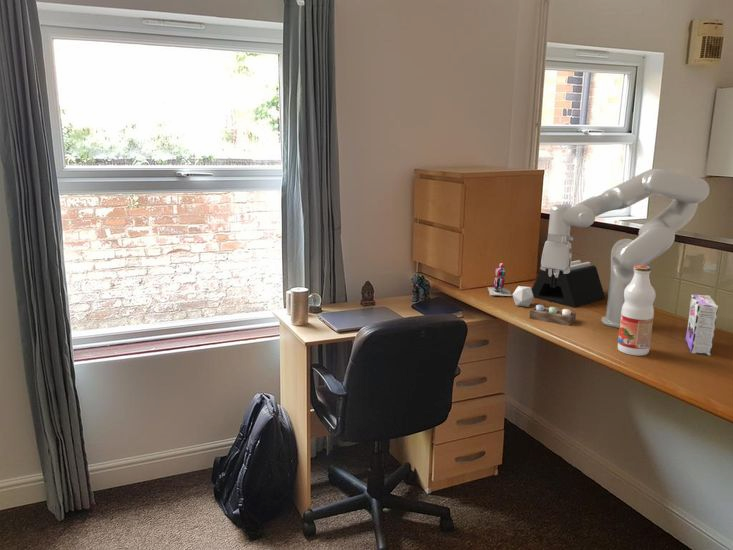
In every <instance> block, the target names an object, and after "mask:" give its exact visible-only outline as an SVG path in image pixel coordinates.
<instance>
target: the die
mask: <svg viewBox="0 0 733 550" xmlns="http://www.w3.org/2000/svg"><path fill="white" fill-rule="evenodd" d="M531 289H532V287H531V286H522V285H521V286H520V285H518V286H517V287H516V289H515V290H514V291H513V293H511V294H512V298H513V301H514V304H515V306H516V307H526V308H529V307H530V305H531V304H532V302H533V300H534V299H535V298H534V296H533V293H532V290H531Z"/></svg>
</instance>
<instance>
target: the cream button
mask: <svg viewBox="0 0 733 550" xmlns="http://www.w3.org/2000/svg"><path fill="white" fill-rule="evenodd" d="M561 310H562V315H567V316H570V315H571V312H572V309H569V308H563V309H561Z"/></svg>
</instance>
